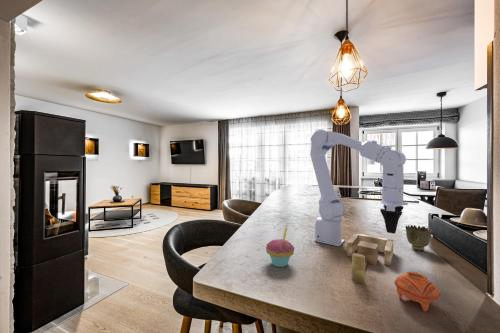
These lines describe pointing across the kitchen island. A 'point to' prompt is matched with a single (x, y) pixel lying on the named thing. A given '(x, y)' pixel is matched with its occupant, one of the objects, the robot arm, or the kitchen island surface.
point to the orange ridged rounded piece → (417, 289)
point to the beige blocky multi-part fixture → (383, 243)
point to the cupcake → (280, 251)
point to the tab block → (363, 260)
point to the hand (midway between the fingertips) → (391, 229)
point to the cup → (418, 237)
